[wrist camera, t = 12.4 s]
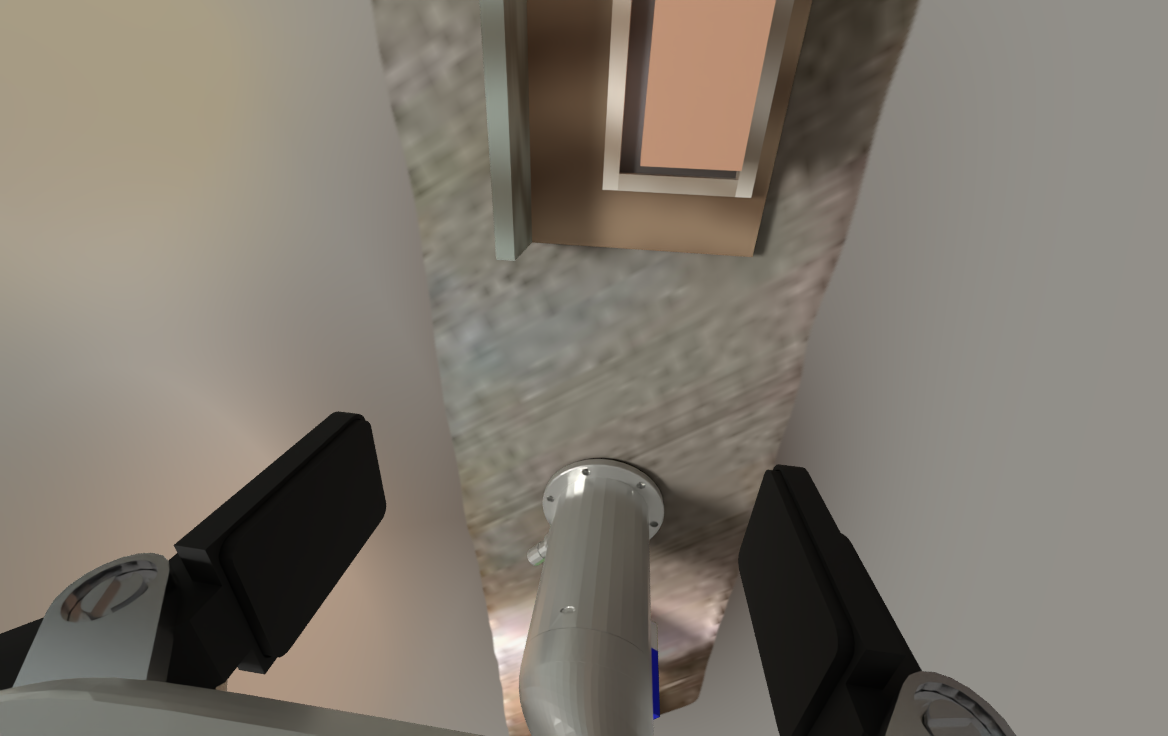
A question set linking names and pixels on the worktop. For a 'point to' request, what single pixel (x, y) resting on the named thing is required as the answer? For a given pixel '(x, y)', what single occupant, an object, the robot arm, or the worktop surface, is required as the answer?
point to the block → (703, 81)
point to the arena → (613, 132)
